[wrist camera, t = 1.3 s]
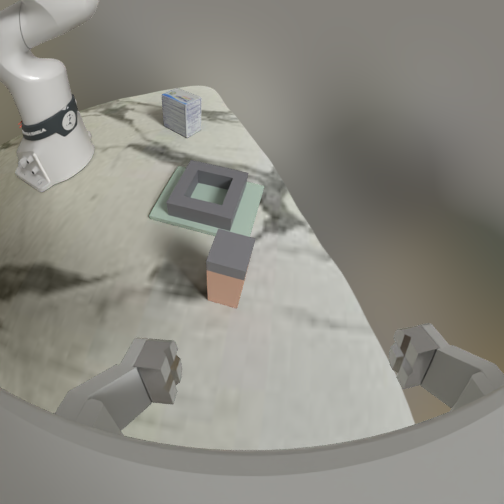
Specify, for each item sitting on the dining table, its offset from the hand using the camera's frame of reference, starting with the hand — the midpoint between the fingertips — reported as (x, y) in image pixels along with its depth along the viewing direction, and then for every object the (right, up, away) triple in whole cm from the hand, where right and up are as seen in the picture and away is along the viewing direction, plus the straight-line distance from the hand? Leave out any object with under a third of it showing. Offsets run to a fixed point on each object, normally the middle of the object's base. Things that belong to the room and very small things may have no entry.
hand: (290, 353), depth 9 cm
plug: (-5, -2, +27) cm, 28 cm away
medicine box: (-17, +31, +45) cm, 57 cm away
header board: (-8, +12, +35) cm, 38 cm away
